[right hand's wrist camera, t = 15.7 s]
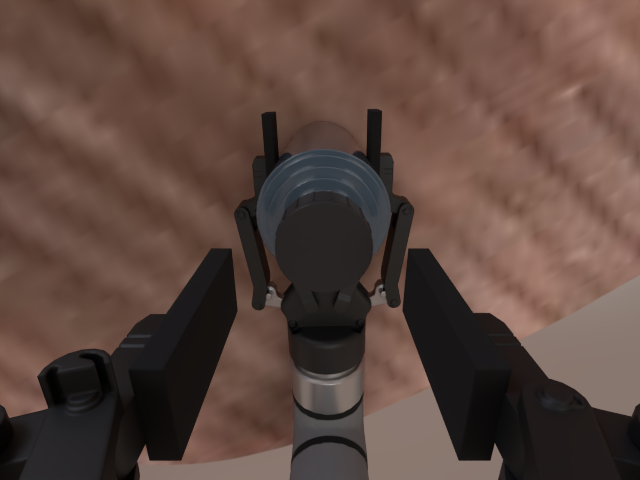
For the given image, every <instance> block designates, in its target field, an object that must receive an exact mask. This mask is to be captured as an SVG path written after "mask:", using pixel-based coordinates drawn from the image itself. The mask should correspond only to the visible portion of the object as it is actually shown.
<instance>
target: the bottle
mask: <svg viewBox="0 0 640 480" xmlns="http://www.w3.org/2000/svg"><path fill="white" fill-rule="evenodd" d="M313 191H315V192H318V191H332V192H335V193H339V194H341V195H344V196H346V197H347V196H348V197H349V199H351V200H352V201H353V202H355V203H356V204H357V205H358V206H359V208H360V207H361V208H362V211H363V214H364V215H365V218H366V220H367V222H369V225H370V228H371V231H372V233H371V235H372V239H373V255H374V254H375V253H376V252H377V251H378V249H379V248H380V246H381V245H382V243H383V241H384V239H385V237H386V235H387V232H388V229H389V225H390V217H391V208H390V201H389V196H388V193H387V191H386V188H385V186H384V184H383V182H382V180H381V179H380V177H379V176H378V174H377V172H376V171H375V169H374V168H373V166H372V165H371V163H370V162H369V160H368V158H367V157H366V155H365V154H364V152H363V151H362V149H361V147H360V146H359V144H358V143H357V141H356V140H355V138H354V137H353V135H352V134H351V133H350V132H349V131H348V130H346V129H345V128H344V127H342V126H340V125H338V124H336V123H332V122H326V121H319V122H314V123H310V124H308V125H306V126H304V127H302V128H301V129H300V130H298V131H297V132H296V133H295V134H294V135H293V137H292V138H291V140H290V141H289V143H288V144H287V146H286V148H285V149H284V151H283V153H282V154H281V156H280V158H279V159H278V161H277V163H276V164H275V166H274V168H273V169H272V171H271V173H270V174H269V176H268V177H267V179H266V181H265V183H264V185H263V187H262V188H261V191H260V194H259V197H258V202H257V212H256V215H257V224H258V229H259V232H260V235H261V237H262V239H263V241H264V243H265V245H266V246H267V248H268V249H269V251H270V252H271V253H272V254H273V255H274V256H275V239H276V235H275V234H276V231H277V227H278V224H280V222H281V219H282V217H283V214H284V211H285V209H287V208H288V207H289V206H290V205H291V204H292V203H293V202H294V201H296V200H297V198H300V197H302V196H304V195H306V194H309V193H313ZM373 255H372V256H373ZM275 258H276V256H275Z"/></svg>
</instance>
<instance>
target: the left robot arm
mask: <svg viewBox="0 0 640 480" xmlns="http://www.w3.org/2000/svg"><path fill="white" fill-rule="evenodd" d="M261 115H262V127H263V139H264V152H265V156H257V157H256V158H255V159H254V162H253V165H252V166H253V177H254V187H255V197H253V198H251V199H249V200H243V201H242V202H241V203H240V205H239V206H238V208H237V209H236V210H235V213H234V216H235V220H236V224H237V227H238V231H239V235H240V238H241V242H242V246H243V250H244V253H245V257H246V261H247V264H248V268H249V272H250V275H251V279H252V283H253V287H254V290H253V298H252V307H253V308H254V309H255V310H262V309H263V308H264V307H265V305H266V306H272V307H279V308H281V310H282V312H283V313H284V315H285V316H286V318H287V324H288V338H289V352H290V356H291V357H290V367H291V379H292V392H293V400H294V439H293V451H292V460H291V473H290V480H369V478H368V465H367V452H366V443H365V435H364V424H363V393H364V364H365V357H364V353H365V323H366V316H367V314H368V312H369V311H370V309H371V306H376V305H381V304H386V303H387V304H388V306H390V307H392V308H396V307H398V306H399V305H400V303H401V300H400V295H399V289H398V282H399V277H400V273H401V268H402V264H403V259H404V255H405V250H406V246H407V242H408V237H409V233H410V228H411V224H412V219H413V215H414V208H413V206H412V205H411V203H410V202H409V201H408V200H407V198H406V197H404V196H397V195H395V194H393V193H392V184H393V163H394V162H393V159H392V156H391V155H390V154H389V153H380V151H381V123H382V111H381V110H378V109H368V112H367V158H368V160H369V162H370V163H371V165H372V166H373V168H374V169H375V171H376V172H377V174H378V176H379V177H380V179H381V180H382V182H383V184H384V186H385V188H386V191H387V193H388V196H389V201H390V208H391V212H392V216H391V221H390V226H389V231H388V236H387V241H386V246H385V251H384V256H383V261H382V266H381V279H379V280H377V282H376V283H375V285H374V289H373V291H371V292H369V293H368V291H367V290H366V289H365V288H364V287H363V285H362V284H361V283H360V282H359V280H360V279H358V280H357V281H356V282H355V283H353V284H352V285H350V286H348V287H346V288H344V289H342V290H339V291H334V292H327V293H321V292H313V291H309V290H306V289H303V288H301V287H299V286H297V285H296V284H294V283H293V282H292V281H291V282H292V283H291V285H290V286H289V287H288V289H287V290H286V291H285V293H284V294H281V293H279V292H278V290H277V286H276V284H275V283H274V282H273V281H270V270H269V266H268V262H267V258H266V254H265V250H264V245H263V241H262V237H261V235H260V232H259V229H258V224H257V217H256V212H257V202H258V197H259V194H260V191H261V188H262V187H263V185H264V183H265V181H266V179H267V177H268V176H269V174H270V173H271V171H272V169H273V168H274V166H275V164H276V163H277V161H278V159H279V152H278V137H277V123H276V112H265V113H263V114H261Z"/></svg>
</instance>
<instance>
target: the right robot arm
mask: <svg viewBox="0 0 640 480" xmlns="http://www.w3.org/2000/svg"><path fill="white" fill-rule="evenodd" d="M236 313H237V300H236V290H235V279H234V269H233V259H232V249H211V250H210V251H209V253H208V254H207V256H206V257H205V259H204V260H203V261H202V263H201V264H200V266H199V267H198V269H197V270H196V272H195V273H194V275H193V276H192V277H191V279H190V280H189V282H188V283H187V285H186V286H185V288H184V289H183V290H182V292H181V293H180V295H179V296H178V298H177V299H176V301H175V302H174V303H173V305H172V306H171V308H170V309H169V311H168V312H167V314H150V315H149V316H147V317H146V318H144V319H143V320H141V321H140V322H138V323H137V324H136V325H135V326H134V327H133V328H132V330H131V331H130V332H129V334H128V335H127V338H125V339H124V340H123V341H122V342H121V344H120V345H119V348H117V349H116V350H115V351H114V352H113V354H112V355H111V356H110V355H109V354H108V353H107V352H105V351H104V350H99V349H85V350H79V351H76V352H72V353H69V354H67V355H64V356H62V357H60V358H58V359H56V360H54V361H53V362H52V363H50V364H49V365H48V366H46V367H45V368H44V369H43V370H42V371H41V373H40V374H39V375H38V376H37V377H38V380H39V383H40V386H41V388H42V391H43V394H44V397H45V400H46V403H47V405H48V409H46V410H42V411H38V412H34V413H29V414H25V415H21V416H16V417H12V418H9V417H8V415H7V412H6V410H5V408H4V407H3V406H1V405H0V480H139V479H140V473H139V467H138V463H137V460H138V458H139V456H140V454H141V452H142V450H143V448H144V446H145V444H146V448H147V452H148V456H149V460H150V461H181V460H182V457H183V454H184V452H185V449H186V446H187V444H188V441H189V438H190V436H191V433H192V430H193V428H194V425H195V422H196V420H197V417H198V414H199V412H200V409H201V406H202V404H203V401H204V398H205V396H206V393H207V391H208V388H209V385H210V383H211V380H212V377H213V375H214V372H215V369H216V367H217V364H218V361H219V359H220V356H221V353H222V351H223V348H224V345H225V343H226V340H227V337H228V335H229V332H230V329H231V327H232V324H233V321H234V319H235V316H236ZM403 313H404V316H405V319H406V321H407V324H408V327H409V329H410V332H411V335H412V337H413V340H414V343H415V345H416V348H417V351H418V353H419V356H420V359H421V361H422V364H423V367H424V369H425V372H426V375H427V377H428V380H429V383H430V385H431V388H432V391H433V393H434V396H435V398H436V401H437V404H438V406H439V409H440V412H441V414H442V417H443V420H444V422H445V425H446V428H447V430H448V433H449V436H450V438H451V441H452V444H453V446H454V449H455V452H456V454H457V457H458V460H460V461H461V460H462V461H467V460H468V461H473V460H474V461H476V460H477V461H490V460H491V456H492V452H493V448H494V443H495V444H496V446H497V448H498V450H499V452H500V454H501V456H502V458H503V463H502V467H501V470H500V474H499V478H498V480H640V404H638V405H637V406H636V407H635V410H634V412H633V415H632V417H631V416H626V415H622V414H618V413H613V412H609V411H605V410H600V409H596V408H593V407H591V406H590V404H589V403H588V401H587V400H586V398H585V397H583V396H582V395H581V394H580V393H579V392H577V391H576V390H575V389H573V388H571V387H569V386H568V385H566V384H564V383H561V382H558V381H555V380H552V379H549V378H548V377H547V376H546V375H545V373H544V372H543V371H542V370H541V368H540V367H539V366H538V365H537V363H536V362H535V361H534V360H533V358H532V357H531V356H530V355H529V353H528V352H527V351H526V350H525V348H524V347H523V346H521V343H520V342H519V341H518V339H517V338H516V337H514V336H513V333H512V332H511V331H510V329H509V328H508V327H507V326H506V324H505V323H504V322H502V321H501V320H499V319H498V318H496V317H495V316H493V315H492V314H490V313H473V312H472V311H471V309H470V308H469V306H468V305H467V303H466V302H465V301H464V299H463V298H462V296H461V295H460V293H459V292H458V290H457V289H456V288H455V286H454V285H453V283H452V282H451V280H450V279H449V277H448V276H447V275H446V273H445V272H444V270H443V269H442V267H441V266H440V264H439V263H438V261H437V260H436V259H435V257H434V256H433V254H432V253H431V251H430V250H429V249H408V259H407V269H406V279H405V290H404V300H403Z"/></svg>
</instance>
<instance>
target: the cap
mask: <svg viewBox="0 0 640 480" xmlns="http://www.w3.org/2000/svg"><path fill="white" fill-rule="evenodd" d="M371 233H372V231H371V228H370V225H369V222H367V220H366V218H365V215H364V214H363V211H362V208H361V207H360V208H359V206H358V205H357V204H356V203H355V202H353V201H352V200H351V199H349V197H348V196H347V197H346V196H344V195H341V194H339V193H335V192H332V191H318V192H315V191H313V193H309V194H306V195H304V196H302V197H300V198H297V200H296V201H294V202H293V203H292V204H291V205H290V206H289V207H288V208H287V209H285V211H284V214H283V217H282V219H281V222H280V224H278V227H277V231H276V234H275V235H276V239H275V256H276V260H277V262H278V265H279V267H280V269H281V270H282V272H283V273H284V275H285V276H286V277H287V278H288V279H289V280H290V281H292V282H293V283H294V284H296V285H297V286H299V287H301V288H303V289H306V290H309V291H313V292H321V293H327V292H334V291H339V290H342V289H344V288H346V287H348V286H350V285H352V284H353V283H355V282H356V281H357V280H358V279H360V278H361V276H362V275H363V274H364V273H365V271H366V270H367V268H368V266H369V264H370V262H371V259H372V255H373V239H372V235H371Z"/></svg>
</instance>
